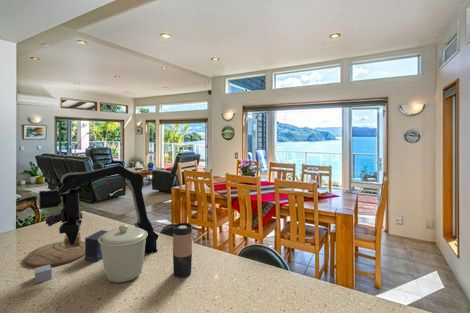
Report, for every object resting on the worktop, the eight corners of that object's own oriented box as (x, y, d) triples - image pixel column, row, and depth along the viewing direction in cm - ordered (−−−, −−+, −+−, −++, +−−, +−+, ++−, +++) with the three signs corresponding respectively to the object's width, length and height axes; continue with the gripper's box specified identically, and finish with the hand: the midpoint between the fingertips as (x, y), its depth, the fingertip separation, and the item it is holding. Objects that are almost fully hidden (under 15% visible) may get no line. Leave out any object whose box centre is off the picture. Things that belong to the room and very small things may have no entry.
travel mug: (195, 270, 108) (195, 224, 107) (185, 279, 101) (186, 230, 100) (179, 267, 111) (179, 221, 109) (169, 276, 104) (169, 227, 102)
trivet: (51, 273, 105) (50, 268, 105) (11, 262, 113) (11, 257, 113) (101, 248, 128) (101, 244, 128) (66, 240, 137) (65, 237, 137)
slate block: (50, 273, 104) (50, 264, 104) (51, 279, 100) (51, 269, 100) (34, 278, 101) (34, 268, 100) (35, 283, 97) (35, 273, 97)
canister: (98, 293, 91) (97, 236, 90) (99, 270, 107) (98, 220, 106) (151, 281, 100) (151, 228, 98) (144, 261, 116) (144, 215, 114)
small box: (97, 262, 114) (96, 239, 113) (84, 260, 115) (83, 238, 114) (113, 252, 124) (112, 230, 123) (101, 250, 125) (100, 229, 124)
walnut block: (80, 241, 108) (80, 232, 107) (79, 246, 103) (79, 236, 103) (66, 243, 105) (65, 234, 105) (64, 248, 101) (64, 238, 101)
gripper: (51, 201, 108) (53, 237, 109) (41, 213, 91) (43, 255, 92) (81, 198, 113) (83, 232, 114) (77, 209, 96) (79, 249, 97)
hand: (72, 242), depth 104 cm, fingers closed on walnut block, 5 cm apart
